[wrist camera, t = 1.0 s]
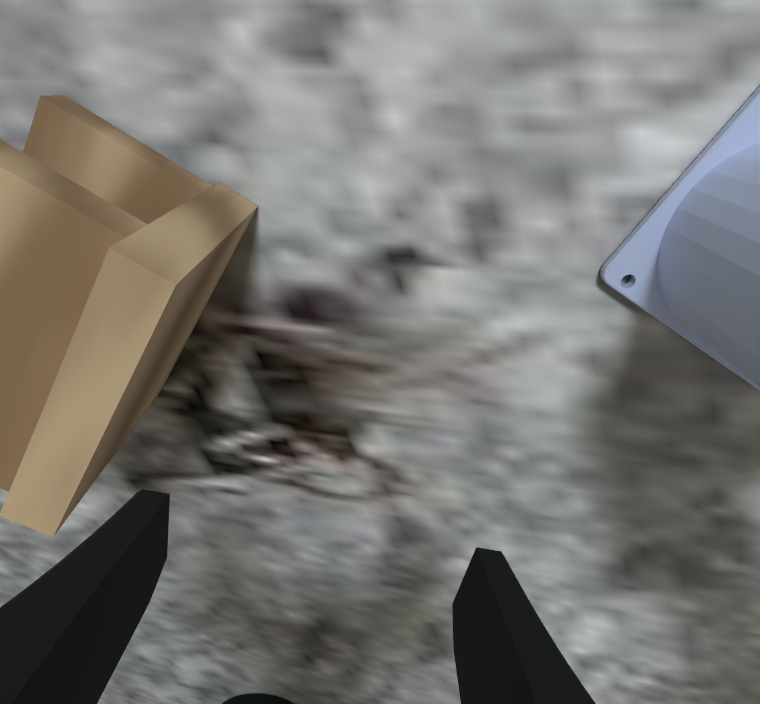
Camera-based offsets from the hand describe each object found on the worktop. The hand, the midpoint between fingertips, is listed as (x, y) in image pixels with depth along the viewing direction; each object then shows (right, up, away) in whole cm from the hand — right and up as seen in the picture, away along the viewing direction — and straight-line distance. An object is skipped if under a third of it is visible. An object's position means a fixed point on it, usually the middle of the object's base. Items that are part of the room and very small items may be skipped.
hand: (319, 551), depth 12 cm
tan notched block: (-11, +8, +3) cm, 14 cm away
